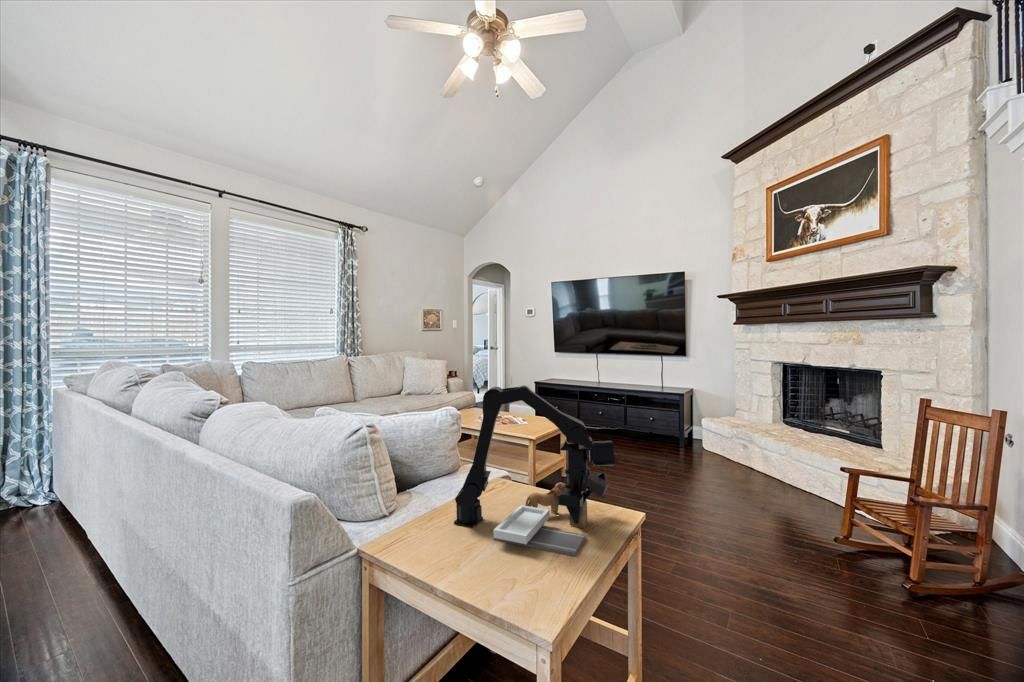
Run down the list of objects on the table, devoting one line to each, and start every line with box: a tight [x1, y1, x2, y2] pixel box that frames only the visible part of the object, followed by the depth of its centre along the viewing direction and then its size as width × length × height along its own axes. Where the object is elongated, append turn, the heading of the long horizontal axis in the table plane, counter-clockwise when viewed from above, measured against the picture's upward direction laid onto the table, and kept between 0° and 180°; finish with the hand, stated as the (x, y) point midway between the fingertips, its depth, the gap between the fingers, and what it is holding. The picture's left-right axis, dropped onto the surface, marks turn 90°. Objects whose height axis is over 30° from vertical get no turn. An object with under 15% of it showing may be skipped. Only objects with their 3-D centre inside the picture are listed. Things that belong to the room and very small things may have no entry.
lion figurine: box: [524, 482, 569, 516], centre depth 123 cm, size 15×5×9 cm, turn 105°
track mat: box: [493, 526, 587, 557], centre depth 108 cm, size 22×10×1 cm, turn 65°
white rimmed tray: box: [493, 504, 551, 544], centre depth 110 cm, size 9×17×4 cm, turn 155°
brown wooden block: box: [569, 500, 588, 529], centre depth 116 cm, size 4×4×6 cm
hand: (578, 520), depth 116 cm, fingers closed on brown wooden block, 4 cm apart
